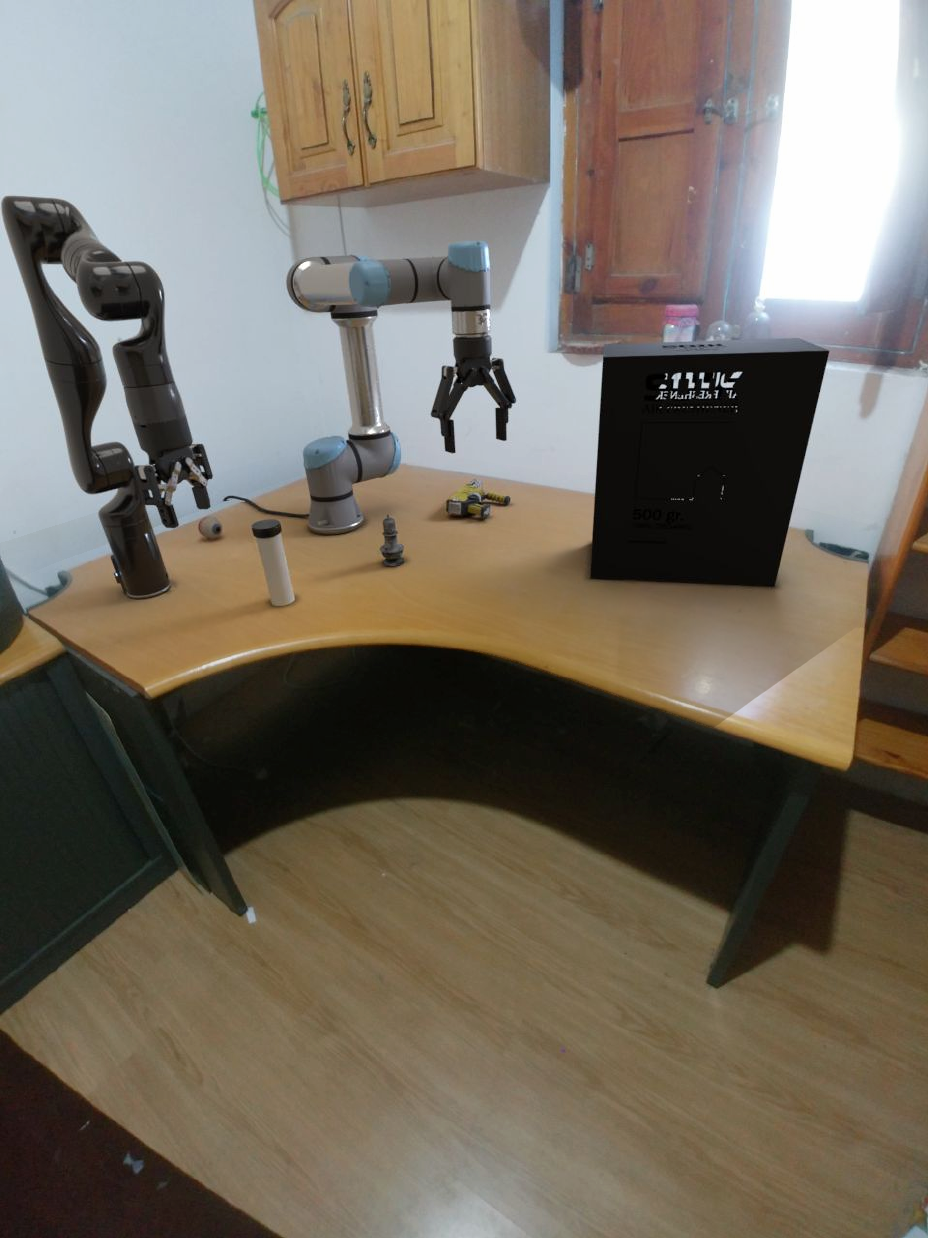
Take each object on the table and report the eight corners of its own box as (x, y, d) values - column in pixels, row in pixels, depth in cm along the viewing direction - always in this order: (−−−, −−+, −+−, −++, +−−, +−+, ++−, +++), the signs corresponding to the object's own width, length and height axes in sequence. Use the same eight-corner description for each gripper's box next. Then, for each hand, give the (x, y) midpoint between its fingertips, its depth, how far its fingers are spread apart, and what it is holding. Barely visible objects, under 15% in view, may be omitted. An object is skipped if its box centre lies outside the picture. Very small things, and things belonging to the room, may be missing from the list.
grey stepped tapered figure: (401, 567, 143) (396, 519, 137) (378, 566, 144) (371, 518, 138) (408, 556, 148) (403, 510, 142) (385, 556, 149) (379, 509, 143)
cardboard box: (755, 547, 142) (798, 337, 120) (774, 586, 125) (829, 350, 102) (592, 542, 150) (603, 344, 127) (589, 578, 133) (603, 356, 110)
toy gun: (518, 484, 183) (472, 477, 187) (496, 507, 163) (444, 499, 167) (517, 499, 185) (471, 492, 189) (494, 524, 165) (443, 515, 169)
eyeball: (211, 543, 162) (206, 522, 159) (197, 539, 165) (190, 519, 162) (230, 535, 166) (224, 515, 163) (215, 532, 169) (209, 511, 166)
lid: (269, 539, 120) (267, 530, 119) (247, 536, 122) (245, 527, 121) (287, 529, 124) (285, 520, 123) (265, 526, 127) (263, 517, 126)
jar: (285, 607, 128) (267, 531, 120) (266, 604, 130) (248, 529, 121) (299, 597, 132) (283, 523, 123) (281, 594, 134) (264, 520, 125)
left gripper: (167, 406, 97) (195, 502, 106) (103, 426, 86) (139, 533, 94) (208, 405, 96) (233, 503, 104) (147, 426, 84) (181, 535, 92)
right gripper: (429, 342, 108) (437, 460, 118) (533, 329, 120) (532, 437, 131) (407, 340, 113) (417, 454, 124) (508, 328, 125) (510, 432, 136)
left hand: (188, 517), depth 99 cm, fingers open, 8 cm apart
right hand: (476, 445), depth 127 cm, fingers open, 13 cm apart
